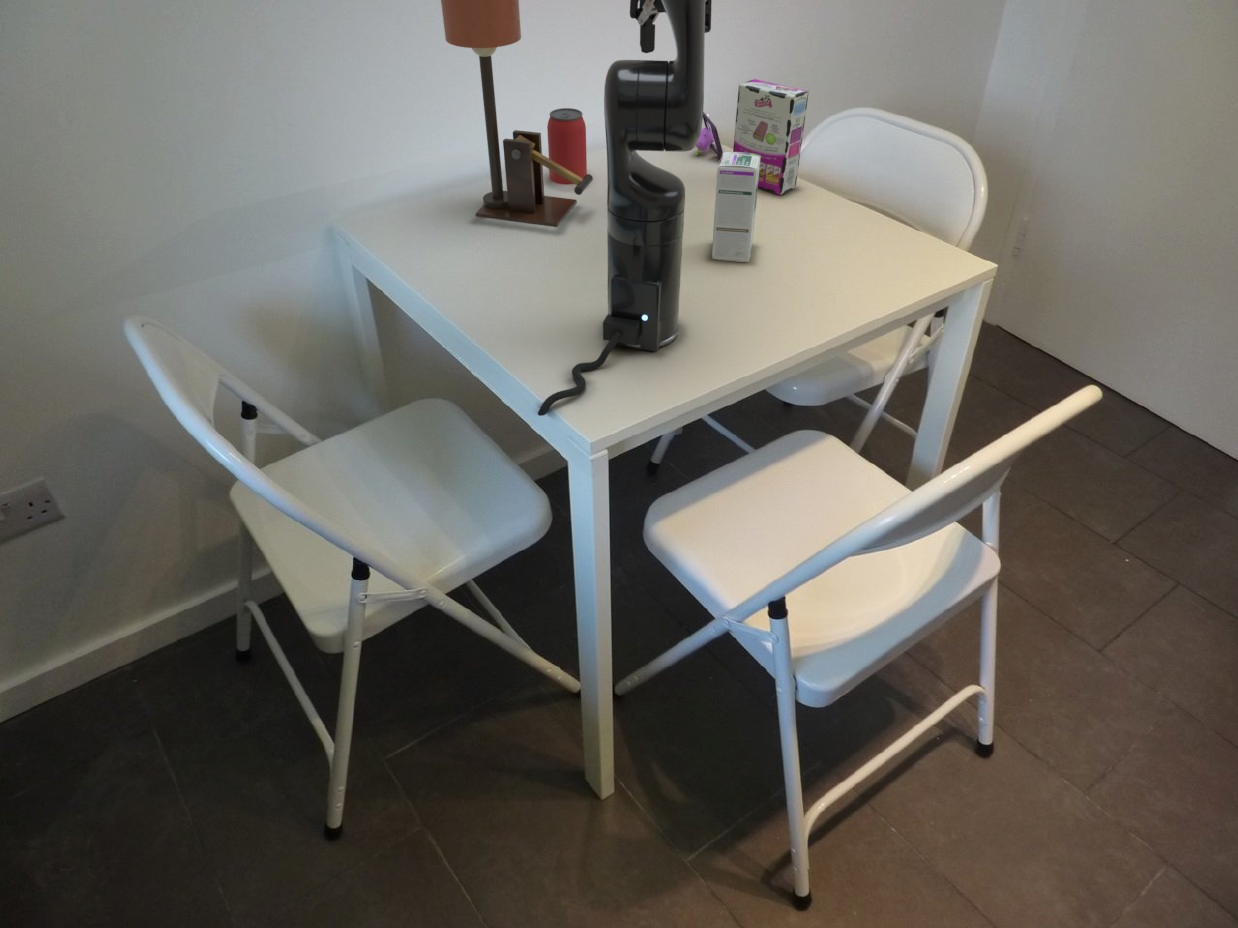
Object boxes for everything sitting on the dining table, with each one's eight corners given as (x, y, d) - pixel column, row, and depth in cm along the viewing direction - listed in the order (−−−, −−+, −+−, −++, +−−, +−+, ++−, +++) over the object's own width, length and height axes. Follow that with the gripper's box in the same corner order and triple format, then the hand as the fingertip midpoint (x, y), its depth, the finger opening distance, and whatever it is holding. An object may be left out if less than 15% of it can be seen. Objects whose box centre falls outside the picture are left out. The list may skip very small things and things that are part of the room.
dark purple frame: (720, 125, 153) (706, 110, 160) (693, 137, 154) (681, 121, 160) (728, 159, 158) (715, 143, 164) (702, 170, 158) (690, 153, 165)
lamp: (517, 220, 134) (499, -5, 113) (454, 211, 136) (425, -11, 116) (541, 194, 142) (529, -21, 121) (481, 186, 144) (459, -26, 124)
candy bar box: (797, 188, 148) (811, 90, 138) (781, 196, 145) (793, 97, 135) (745, 172, 154) (754, 77, 143) (729, 179, 151) (737, 83, 140)
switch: (589, 186, 136) (595, 173, 134) (578, 199, 132) (584, 186, 130) (518, 144, 135) (523, 131, 133) (505, 156, 131) (510, 143, 129)
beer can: (544, 187, 148) (540, 117, 140) (557, 174, 153) (554, 105, 145) (579, 192, 147) (577, 121, 139) (591, 178, 151) (590, 109, 144)
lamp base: (577, 208, 141) (574, 130, 133) (557, 233, 134) (553, 152, 126) (500, 198, 144) (493, 122, 136) (476, 222, 137) (467, 142, 129)
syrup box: (749, 263, 126) (759, 167, 117) (709, 259, 127) (717, 164, 118) (752, 246, 130) (762, 153, 121) (714, 243, 131) (721, 150, 122)
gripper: (617, -72, 117) (617, 53, 128) (691, -60, 109) (684, 73, 120) (655, -78, 121) (652, 44, 132) (729, -66, 113) (720, 63, 124)
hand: (667, 58), depth 126 cm, fingers open, 8 cm apart
